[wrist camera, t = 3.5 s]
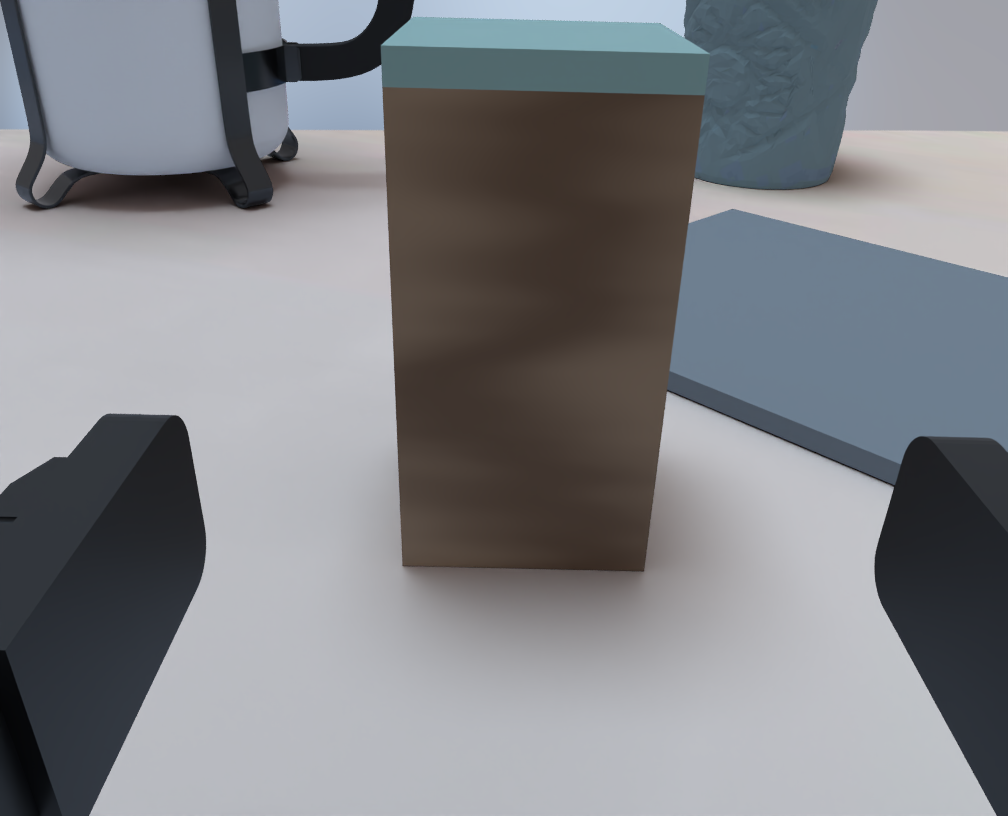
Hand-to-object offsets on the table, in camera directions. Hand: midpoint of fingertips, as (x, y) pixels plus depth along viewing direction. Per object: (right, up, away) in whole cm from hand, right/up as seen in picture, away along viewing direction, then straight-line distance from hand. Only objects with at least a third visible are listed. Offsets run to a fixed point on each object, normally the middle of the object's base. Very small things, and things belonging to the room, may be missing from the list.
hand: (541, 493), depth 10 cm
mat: (+11, +3, +19) cm, 22 cm away
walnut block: (0, -1, +10) cm, 10 cm away
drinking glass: (+14, +14, +40) cm, 44 cm away
